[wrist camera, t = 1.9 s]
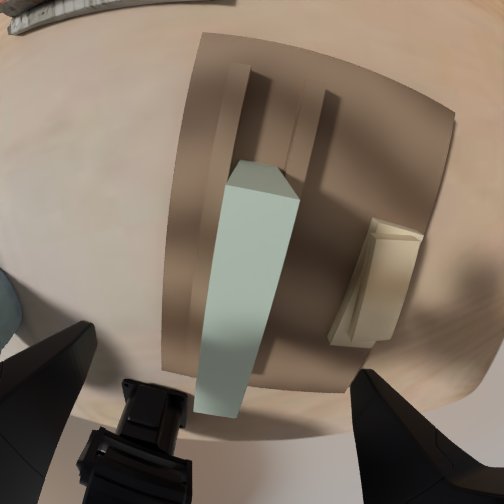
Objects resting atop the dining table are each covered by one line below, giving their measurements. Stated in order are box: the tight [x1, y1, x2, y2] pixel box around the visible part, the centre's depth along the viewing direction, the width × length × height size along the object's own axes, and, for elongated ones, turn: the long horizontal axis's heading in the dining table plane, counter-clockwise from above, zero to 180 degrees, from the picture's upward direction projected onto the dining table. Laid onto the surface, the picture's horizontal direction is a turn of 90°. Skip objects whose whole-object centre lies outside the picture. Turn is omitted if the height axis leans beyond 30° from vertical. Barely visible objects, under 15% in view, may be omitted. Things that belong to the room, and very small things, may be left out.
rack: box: [161, 32, 455, 393], centre depth 17 cm, size 24×16×2 cm, turn 169°
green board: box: [193, 159, 300, 419], centre depth 13 cm, size 10×2×8 cm, turn 169°
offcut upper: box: [348, 233, 420, 343], centre depth 16 cm, size 7×3×1 cm, turn 179°
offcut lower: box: [327, 217, 424, 348], centre depth 17 cm, size 9×4×1 cm, turn 169°
